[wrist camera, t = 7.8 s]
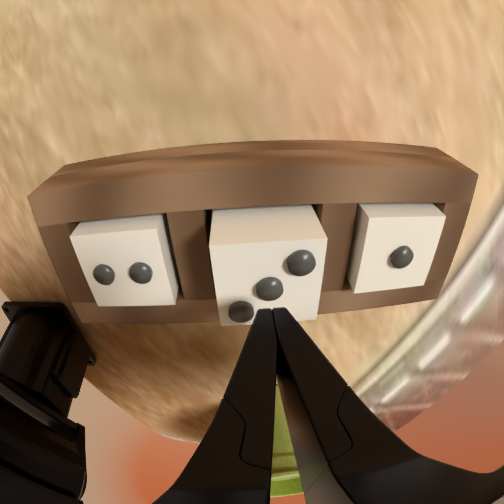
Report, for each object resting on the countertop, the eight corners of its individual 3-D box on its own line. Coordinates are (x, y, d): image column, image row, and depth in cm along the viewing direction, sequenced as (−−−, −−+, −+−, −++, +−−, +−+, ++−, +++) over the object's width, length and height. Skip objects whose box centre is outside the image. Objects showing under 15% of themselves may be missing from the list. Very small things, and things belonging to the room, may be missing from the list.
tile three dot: (221, 284, 13) (220, 330, 11) (212, 208, 11) (208, 249, 9) (304, 278, 13) (317, 322, 11) (310, 203, 11) (329, 242, 9)
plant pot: (212, 377, 23) (211, 481, 15) (332, 366, 23) (356, 465, 16) (227, 422, 28) (229, 499, 21) (318, 414, 28) (332, 489, 21)
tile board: (101, 278, 16) (81, 322, 14) (64, 165, 12) (27, 196, 10) (410, 259, 17) (437, 298, 14) (436, 147, 13) (478, 174, 10)
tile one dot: (338, 259, 14) (355, 296, 12) (348, 190, 12) (371, 220, 10) (402, 254, 14) (425, 288, 12) (418, 190, 12) (448, 218, 10)
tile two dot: (112, 272, 14) (97, 309, 12) (91, 207, 12) (67, 239, 10) (182, 268, 14) (174, 308, 12) (168, 198, 12) (155, 231, 10)
